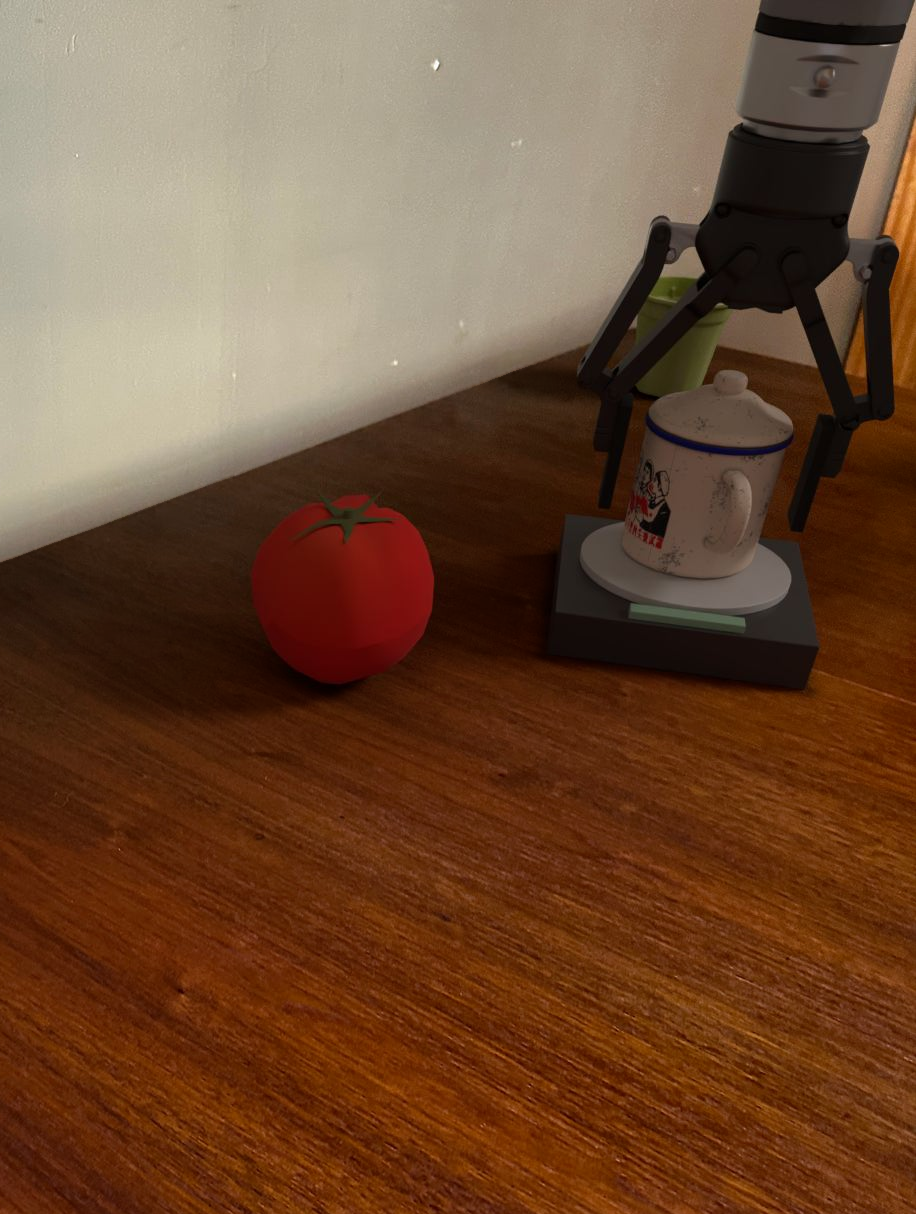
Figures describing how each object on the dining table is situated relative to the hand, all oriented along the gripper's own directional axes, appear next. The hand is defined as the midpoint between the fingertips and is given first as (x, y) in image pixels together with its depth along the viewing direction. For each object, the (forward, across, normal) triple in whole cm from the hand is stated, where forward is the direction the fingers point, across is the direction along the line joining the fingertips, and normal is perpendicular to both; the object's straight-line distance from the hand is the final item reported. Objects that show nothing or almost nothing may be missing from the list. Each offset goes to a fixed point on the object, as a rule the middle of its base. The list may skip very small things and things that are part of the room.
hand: (698, 512), depth 92 cm
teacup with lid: (+4, 0, 0) cm, 4 cm away
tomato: (+7, -21, -14) cm, 26 cm away
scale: (+7, 0, -1) cm, 7 cm away
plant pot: (+7, 0, +47) cm, 48 cm away
